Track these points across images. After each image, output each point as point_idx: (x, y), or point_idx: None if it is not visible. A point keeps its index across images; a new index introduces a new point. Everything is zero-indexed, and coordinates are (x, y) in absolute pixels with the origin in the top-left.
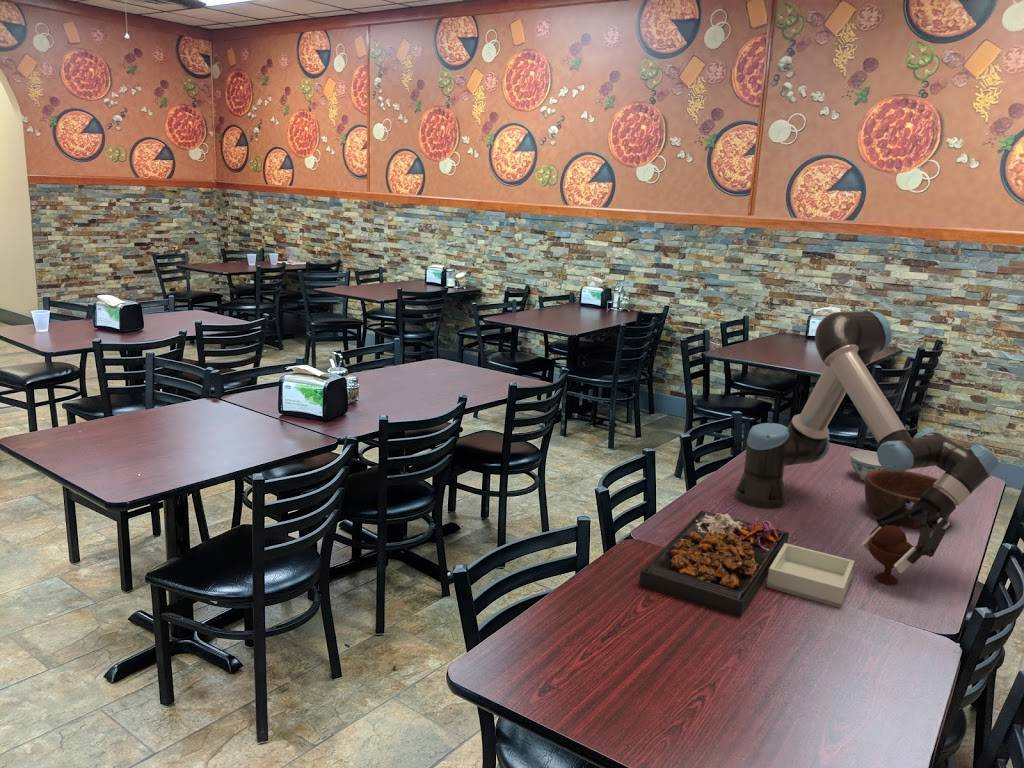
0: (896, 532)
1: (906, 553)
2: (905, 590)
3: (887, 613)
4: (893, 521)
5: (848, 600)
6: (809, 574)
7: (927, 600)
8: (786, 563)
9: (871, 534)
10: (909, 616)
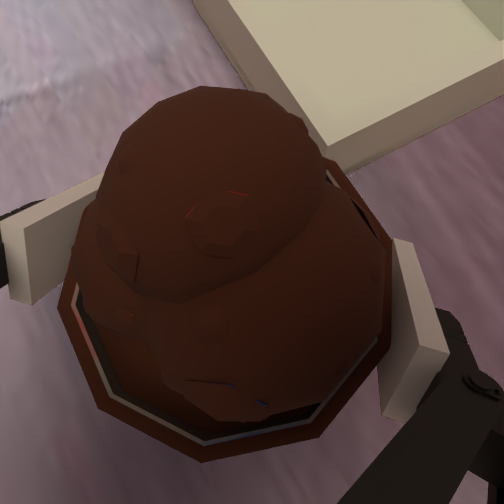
0: (134, 128)
1: (70, 202)
2: None
3: (91, 100)
4: (387, 449)
5: (212, 60)
6: (388, 52)
7: (47, 314)
8: (490, 44)
9: (426, 289)
10: (35, 145)
